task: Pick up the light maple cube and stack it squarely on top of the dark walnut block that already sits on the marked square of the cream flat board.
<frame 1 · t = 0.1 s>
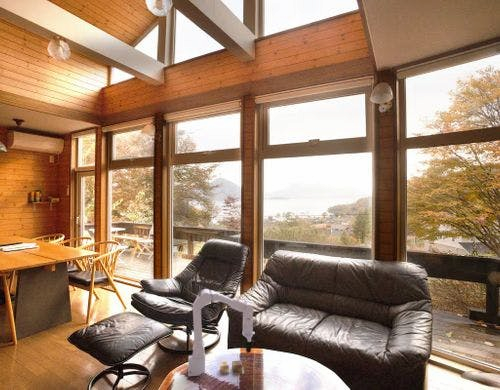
hand: (247, 349, 170), 10 cm above the table, fingers open, 7 cm apart
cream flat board: (238, 370, 166), on the table
maple cube: (224, 372, 164), on the table
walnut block: (237, 370, 165), resting on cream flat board
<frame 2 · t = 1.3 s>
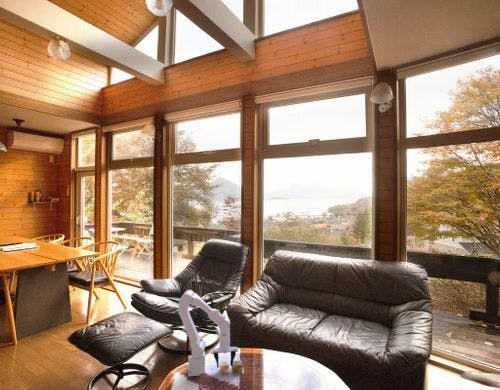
hand: (224, 366, 164), 3 cm above the table, fingers open, 7 cm apart
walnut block: (237, 370, 165), resting on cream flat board, touching gripper
everything else where it was.
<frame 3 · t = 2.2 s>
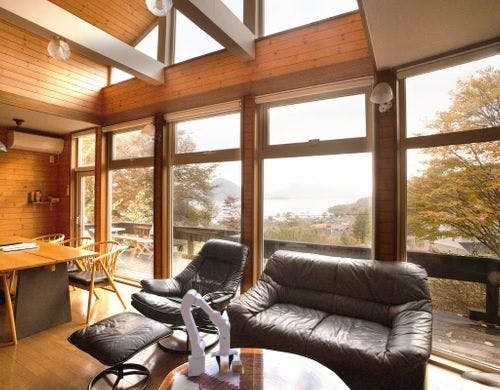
hand: (224, 369, 164), 1 cm above the table, fingers closed on maple cube, 4 cm apart
maple cube: (224, 371, 164), on the table, touching gripper
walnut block: (237, 370, 165), resting on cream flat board
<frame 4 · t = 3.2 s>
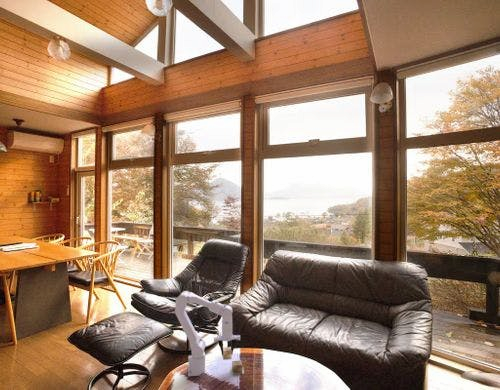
hand: (227, 354, 165), 9 cm above the table, fingers closed on maple cube, 4 cm apart
maple cube: (227, 357, 164), point 8 cm above the table, touching gripper
everything else where it was.
when the fingers open (7 cm above the table, at t = 4.4 s): maple cube stays where it is, resting on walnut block.
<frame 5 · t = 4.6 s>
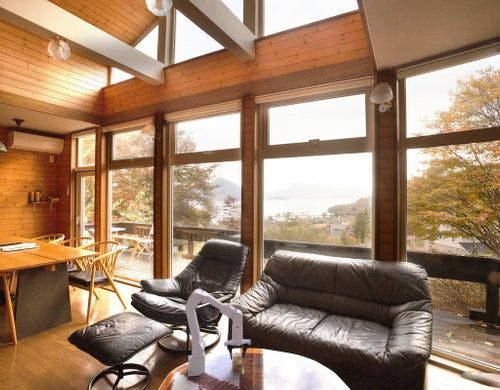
hand: (237, 358, 165), 7 cm above the table, fingers open, 6 cm apart
maple cube: (237, 362, 165), point 4 cm above the table, touching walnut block
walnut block: (237, 370, 165), resting on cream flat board, touching maple cube
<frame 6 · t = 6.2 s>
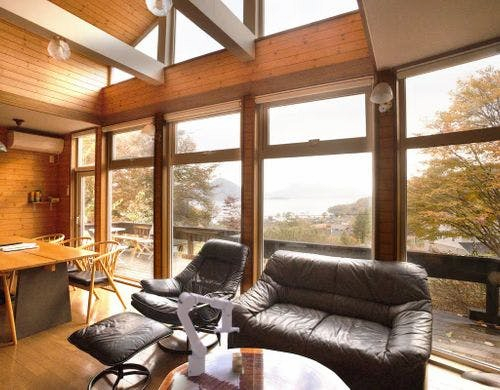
hand: (226, 345, 173), 10 cm above the table, fingers open, 7 cm apart
nothing on the table moved.
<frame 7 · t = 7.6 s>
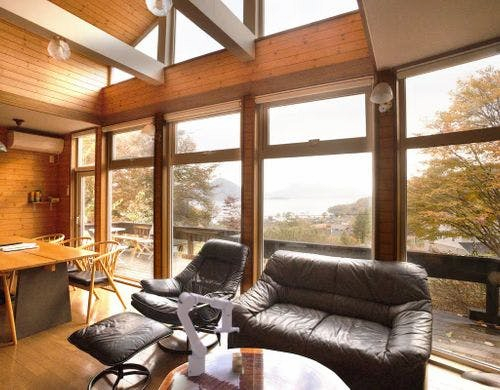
hand: (226, 345, 173), 10 cm above the table, fingers open, 7 cm apart
nothing on the table moved.
at the end: maple cube 0.0 cm off-centre on the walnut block, point 4.0 cm above the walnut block's base; maple cube tilted 0°; the gripper is holding nothing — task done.
